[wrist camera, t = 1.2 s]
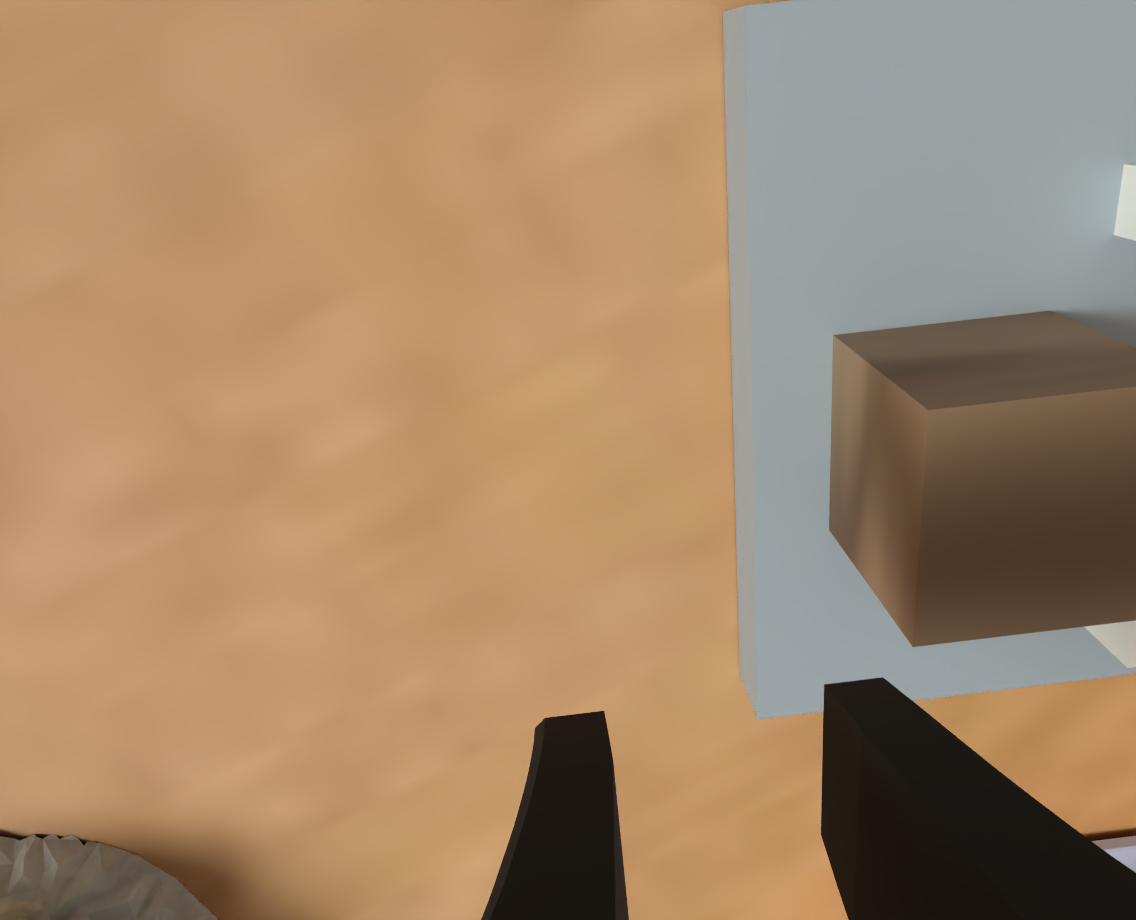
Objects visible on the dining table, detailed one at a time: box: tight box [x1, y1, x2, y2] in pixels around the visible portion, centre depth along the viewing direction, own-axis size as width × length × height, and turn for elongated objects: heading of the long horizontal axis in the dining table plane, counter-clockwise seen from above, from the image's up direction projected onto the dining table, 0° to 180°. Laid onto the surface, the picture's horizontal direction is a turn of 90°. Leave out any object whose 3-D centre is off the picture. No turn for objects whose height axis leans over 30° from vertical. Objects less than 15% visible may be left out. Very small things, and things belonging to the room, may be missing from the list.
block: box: [829, 311, 1136, 647], centre depth 15 cm, size 4×4×4 cm
